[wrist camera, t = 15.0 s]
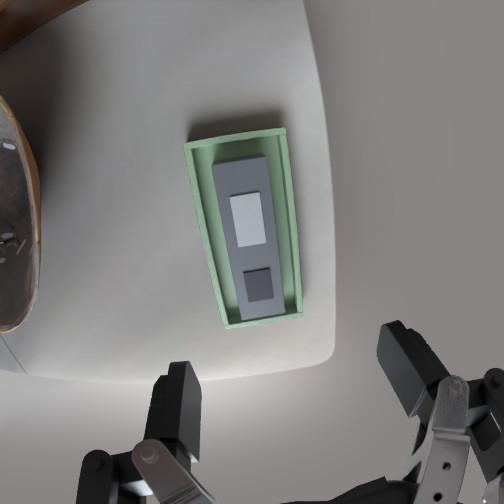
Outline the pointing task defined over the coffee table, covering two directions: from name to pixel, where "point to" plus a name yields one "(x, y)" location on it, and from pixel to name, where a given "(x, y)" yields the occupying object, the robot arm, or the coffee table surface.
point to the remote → (250, 233)
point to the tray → (211, 225)
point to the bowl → (18, 223)
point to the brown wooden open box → (28, 17)
